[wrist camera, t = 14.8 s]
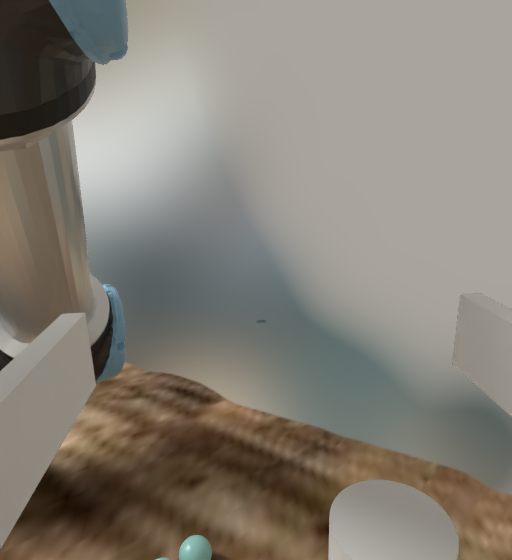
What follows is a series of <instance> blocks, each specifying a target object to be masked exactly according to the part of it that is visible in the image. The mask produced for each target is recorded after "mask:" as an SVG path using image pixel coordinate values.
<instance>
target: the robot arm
mask: <svg viewBox="0 0 512 560" xmlns="http://www.w3.org/2000/svg"><path fill="white" fill-rule="evenodd" d="M127 41H128V22H127V10H126V0H0V548H2V546H3V544H4V542H5V541H6V539H7V537H8V536H9V534H10V532H11V530H12V529H13V527H14V525H15V523H16V522H17V520H18V518H19V517H20V515H21V513H22V511H23V510H24V508H25V506H26V505H27V503H28V501H29V499H30V498H31V496H32V494H33V493H34V491H35V489H36V487H37V486H38V484H39V482H40V481H41V479H42V477H43V475H44V474H45V472H46V470H47V469H48V467H49V465H50V463H51V462H52V460H53V458H54V456H55V455H56V453H57V451H58V450H59V448H60V446H61V444H62V443H63V441H64V439H65V438H66V436H67V434H68V432H69V431H70V429H71V427H72V426H73V424H74V422H75V420H76V419H77V417H78V415H79V414H80V412H81V410H82V408H83V407H84V405H85V403H86V402H87V400H88V398H89V396H90V395H91V393H92V391H93V389H94V388H95V386H96V384H97V383H99V382H100V381H104V380H107V379H111V378H113V377H115V376H117V375H118V374H119V373H120V371H121V370H122V367H123V365H124V359H125V344H124V342H125V324H124V315H123V309H122V304H121V300H120V297H119V294H118V292H117V290H116V289H115V288H114V287H113V286H112V285H110V284H101V283H100V282H99V281H98V280H97V279H96V278H95V277H94V276H93V275H91V273H90V265H89V257H88V249H87V240H86V233H85V224H84V216H83V208H82V200H81V191H80V183H79V175H78V167H77V159H76V150H75V142H74V135H73V125H72V119H74V118H75V117H76V116H77V115H78V114H79V113H80V112H81V111H82V110H83V109H84V108H85V107H86V106H87V104H88V103H89V101H90V99H91V97H92V95H93V93H94V88H95V84H96V71H95V63H98V64H102V65H104V64H107V63H108V62H109V61H111V60H118V59H121V58H123V56H125V54H126V52H127V50H128V46H127ZM456 327H457V328H456V336H455V345H454V354H453V355H454V356H453V365H454V366H455V367H456V368H457V369H459V370H460V371H461V372H462V373H463V374H464V375H465V376H466V377H468V378H469V379H470V380H471V381H472V382H473V383H474V384H476V386H478V387H479V388H480V389H481V390H482V391H483V392H484V393H486V394H487V395H488V396H489V397H490V398H491V399H492V400H493V401H495V403H497V404H498V405H499V406H500V407H501V408H502V409H503V410H504V411H506V412H507V413H508V414H509V415H510V416H511V417H512V309H511V308H509V307H507V306H505V305H503V304H501V303H499V302H497V301H495V300H493V299H491V298H489V297H487V296H485V295H483V294H482V293H471V294H460V299H459V308H458V317H457V326H456Z"/></svg>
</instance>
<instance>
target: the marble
mask: <svg viewBox="0 0 512 560" xmlns="http://www.w3.org/2000/svg"><path fill="white" fill-rule="evenodd" d="M211 557H212V549H211V545H210V543H209V541H208V540H207V539H206V538H205V537H203V536H200V535H193V536H190V537H188V538H187V539H186V540H185V541H184V542H183V543H182V545H181V547H180V551H179V560H211Z"/></svg>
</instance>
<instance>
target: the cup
mask: <svg viewBox="0 0 512 560" xmlns="http://www.w3.org/2000/svg"><path fill="white" fill-rule="evenodd" d="M458 554H459V537H458V533H457V530H456V527H455V525H454V523H453V522H452V520H451V518H450V517H449V515H448V514H447V513H446V512H445V510H444V509H443V508H442V507H441V506H440V505H439V504H438V503H437V502H435V501H434V500H433V499H432V498H430V497H429V496H427V495H426V494H424V493H423V492H421V491H419V490H417V489H415V488H413V487H410V486H408V485H405V484H402V483H398V482H394V481H389V480H366V481H361V482H357V483H354V484H352V485H350V486H348V487H346V488H345V489H343V490H342V491H341V492H340V493H339V494H338V495H337V496H336V498H335V499H334V501H333V503H332V505H331V509H330V516H329V560H458Z"/></svg>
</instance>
